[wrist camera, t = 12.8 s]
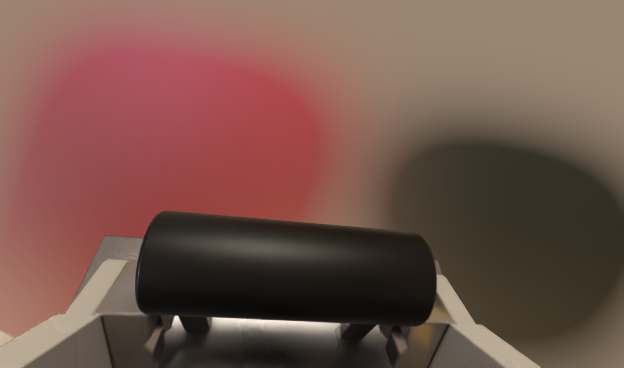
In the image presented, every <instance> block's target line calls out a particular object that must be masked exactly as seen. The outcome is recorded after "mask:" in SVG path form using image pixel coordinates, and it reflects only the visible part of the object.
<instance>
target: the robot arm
mask: <svg viewBox="0 0 624 368" xmlns="http://www.w3.org/2000/svg"><path fill="white" fill-rule="evenodd" d="M136 267H137V260H130V261H129V260H116V259H108V260H106V261H104V262H103V263H102V264H101V265H100V266H99V268H98V269H97V270H96V272H95V273H94V274H93V276H92V277H91V278H90V280H89V281H88V282H87V284H86V285H85V287H84V288H83V289H82V291H81V292H80V293H79V295H78V296H77V297H76V299H75V300H74V301H73V303H72V304H71V305H70V307H69V308H68V309H67V311H66V312H65V313H64V314H56V315H54V316H52V317H51V318H49V319H47V320H45V321H44V322H42V323H40V324H38V325H37V326H35V327H33V328H32V329H30V330H28V331H27V332H25V333H23V334H21V335H19V336H18V337H16V338H14V339H13V340H11V341H9V342H7V343H6V344H4V345H2V346H0V368H157V366H158V363H159V360H160V357H161V355H162V352H163V349H164V346H165V338H164V333H166V332H167V331H168V330H169V329H170V328H171V327H172V324H173V321H174V318H175V316H172V315H151V314H145V313H143V312H141V311H140V310H139V308H138V306H137V303H136V297H135V275H136ZM378 326H379V330H380V332H381V333H382V334H383V335H384V336H385V337H386V338H387V339H388V341H387V344H386V347H385V349H386V352H387V355H388V358H389V361H390V364H391V367H392V368H541V367H539V366H538V365H537V364H535V363H534V362H533V361H531V360H530V359H528V358H527V357H526V356H524V355H523V354H521V353H520V352H519V351H517V350H516V349H515V348H513V347H512V346H510V345H509V344H507V343H506V342H505V341H503V340H502V339H501V338H499V337H498V336H496V335H495V334H494V333H492V332H491V331H490V330H488V329H487V328H485V327H484V326H483V325H476V324H475V322H474V321H473V319H472V317H471V316H470V315H469V313H468V312H467V310H466V308H465V307H464V305H463V303H462V302H461V300H460V299H459V297H458V296H457V294H456V293H455V291H454V290H453V288H452V286H451V285H450V284H449V282H448V280H447V279H446V278H445V277H444V276H443V275H437V292H436V299H435V304H434V308H433V311H432V313H431V315H430V317H429V319H428V320H427V321H426V322H425V323H424V324H422V325H420V326H417V327H412V326H390V325H378Z"/></svg>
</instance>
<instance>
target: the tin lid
mask: <svg viewBox="0 0 624 368" xmlns="http://www.w3.org/2000/svg"><path fill="white" fill-rule="evenodd" d="M108 259H116V260H129V261H130V260H137V267H136V275H135V297H136V303H137V306H138V308H139V310H140V311H141V312H143V313H145V314H151V315H172V316H175V318H174V321H173V324H172V327H171V328H170V329H169V330H168V331H167V332H166V333H164V338H165V346H164V349H163V352H162V355H161V357H160V360H159V363H158V366H157V368H392V367H391V364H390V361H389V358H388V355H387V352H386V349H385V347H386V344H387V341H388V339H387V338H386V337H385V336H384V335H383V334H382V333H381V332H380V330H379V326H378V325H390V326H412V327H417V326H420V325H422V324H424V323H425V322H426V321H427V320H428V319H429V317H430V315H431V313H432V311H433V308H434V304H435V299H436V292H437V275H442V273H441V269H440V266H439V262H438V261H437V260H434V257H433V254H432V251H431V248H430V246H429V244H428V243H427V241H426V240H425V239H424V237H423V236H421V235H419V234H418V233H416V232H408V231H397V230H385V229H373V228H362V227H350V226H339V225H327V224H315V223H303V222H292V221H280V220H269V219H257V218H245V217H234V216H222V215H211V214H199V213H188V212H176V211H163V212H160V213H159V214H157V215H156V216H155V217H154V219H153V220H152V222H151V223H150V225H149V227H148V229H147V231H146V234H145V236H144V238H135V237H121V236H108V235H106V236H104V238H103V240H102V242H101V244H100V246H99V248H98V250H97V252H96V254H95V257H94V258H93V260H92V262H91V264H90V266H89V268H88V270H87V273H86V275H85V277H84V279H83V281H82V283H81V285H80V287H79V290H78V291H77V293H76V295H75V297H74V299H73V301H74V300H75V299H76V297H77V296H78V295H79V293H80V292H81V291H82V289H83V288H84V287H85V285H86V284H87V282H88V281H89V280H90V278H91V277H92V276H93V274H94V273H95V272H96V270H97V269H98V268H99V266H100V265H101V264H102V263H103V262H104V261H106V260H108ZM73 301H72V303H73ZM72 303H71V304H72Z"/></svg>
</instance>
